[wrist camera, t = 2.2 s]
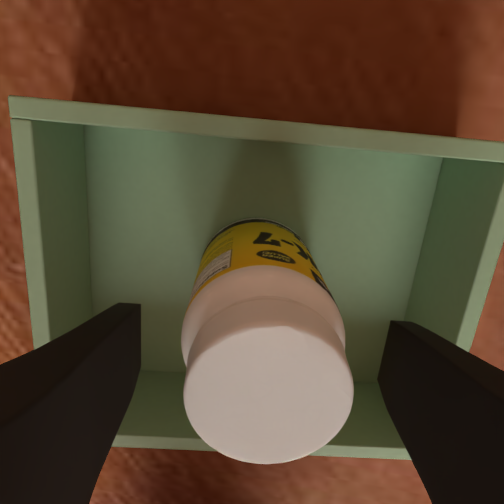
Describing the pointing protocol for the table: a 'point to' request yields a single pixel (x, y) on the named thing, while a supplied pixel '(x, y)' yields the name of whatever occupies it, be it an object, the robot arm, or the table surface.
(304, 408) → the supplement bottle
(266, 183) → the box
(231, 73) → the table surface
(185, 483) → the table surface
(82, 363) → the robot arm
